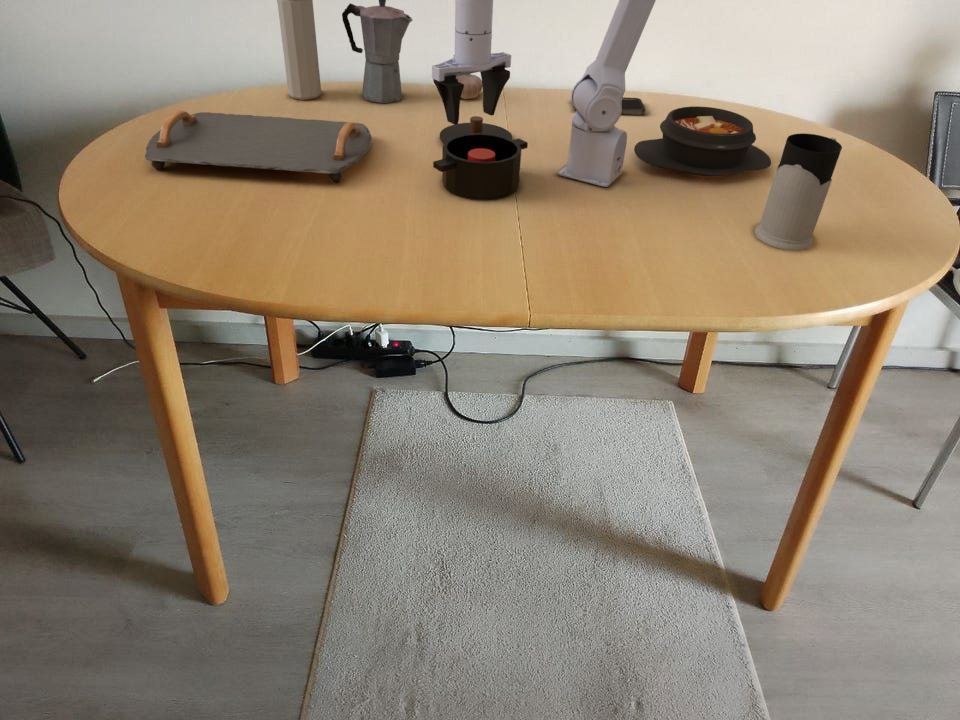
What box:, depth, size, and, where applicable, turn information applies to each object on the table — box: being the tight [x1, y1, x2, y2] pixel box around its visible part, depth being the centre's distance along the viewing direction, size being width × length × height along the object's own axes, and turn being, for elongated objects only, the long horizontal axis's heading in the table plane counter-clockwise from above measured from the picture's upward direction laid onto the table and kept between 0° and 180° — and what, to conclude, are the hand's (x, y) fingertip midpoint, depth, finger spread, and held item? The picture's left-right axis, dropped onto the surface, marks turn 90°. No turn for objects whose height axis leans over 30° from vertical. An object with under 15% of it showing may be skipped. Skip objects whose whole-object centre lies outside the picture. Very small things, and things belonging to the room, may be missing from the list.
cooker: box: [432, 133, 529, 201], centre depth 123 cm, size 13×18×6 cm
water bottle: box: [276, 0, 322, 101], centre depth 150 cm, size 9×8×25 cm
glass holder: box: [754, 132, 843, 251], centre depth 110 cm, size 9×14×15 cm, turn 137°
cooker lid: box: [439, 115, 513, 144], centre depth 139 cm, size 14×14×4 cm
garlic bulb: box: [456, 73, 483, 100], centre depth 158 cm, size 8×7×8 cm
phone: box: [573, 96, 646, 116], centre depth 157 cm, size 8×1×15 cm
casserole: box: [633, 105, 772, 177], centre depth 132 cm, size 25×19×8 cm
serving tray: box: [144, 110, 373, 184], centre depth 129 cm, size 39×23×6 cm, turn 85°
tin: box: [468, 148, 495, 162], centre depth 123 cm, size 5×5×5 cm
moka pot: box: [341, 0, 413, 104], centre depth 152 cm, size 10×15×20 cm, turn 78°
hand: (471, 118), depth 120 cm, fingers open, 7 cm apart
